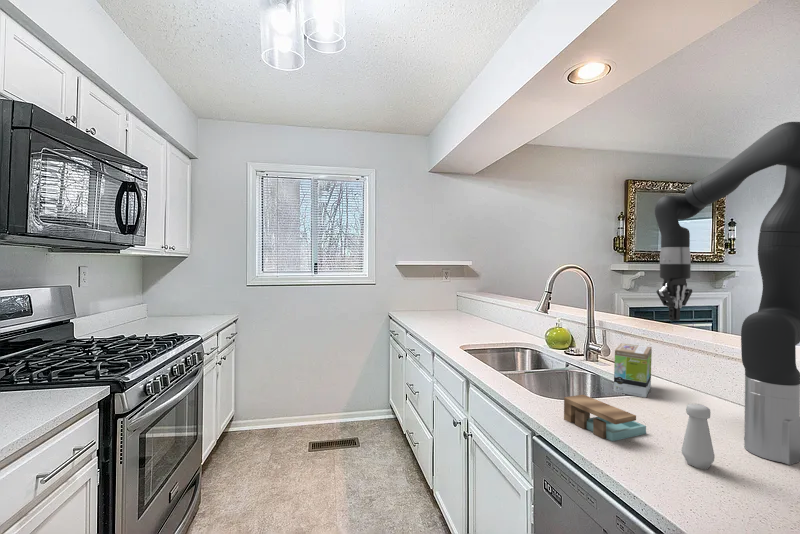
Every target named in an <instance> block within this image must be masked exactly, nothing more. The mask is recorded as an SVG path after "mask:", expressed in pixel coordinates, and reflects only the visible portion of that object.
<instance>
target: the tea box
mask: <svg viewBox="0 0 800 534" xmlns="http://www.w3.org/2000/svg"><path fill="white" fill-rule="evenodd" d="M652 348H653V347H652V346H645V345H638V344H630V343H620V344H619V345H618V346H617V347H616V348H615V350H614V366H613V367H614V369H613V371H614V374H613V392H614V393H619V394H623V395H629V396H634V397H640V398H645V399H646V398H647V396H648V394H649V391H650V389H651V387H652V356H653V355H652V350H653V349H652Z"/></svg>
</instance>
